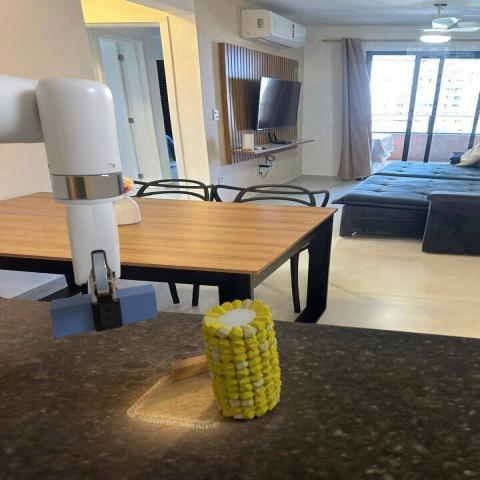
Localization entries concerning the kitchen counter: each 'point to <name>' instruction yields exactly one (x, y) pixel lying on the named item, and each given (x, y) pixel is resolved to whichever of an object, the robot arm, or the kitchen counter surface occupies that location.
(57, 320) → the blue stick
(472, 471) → the kitchen counter surface
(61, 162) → the robot arm
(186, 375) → the tan wooden bar
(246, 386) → the food
